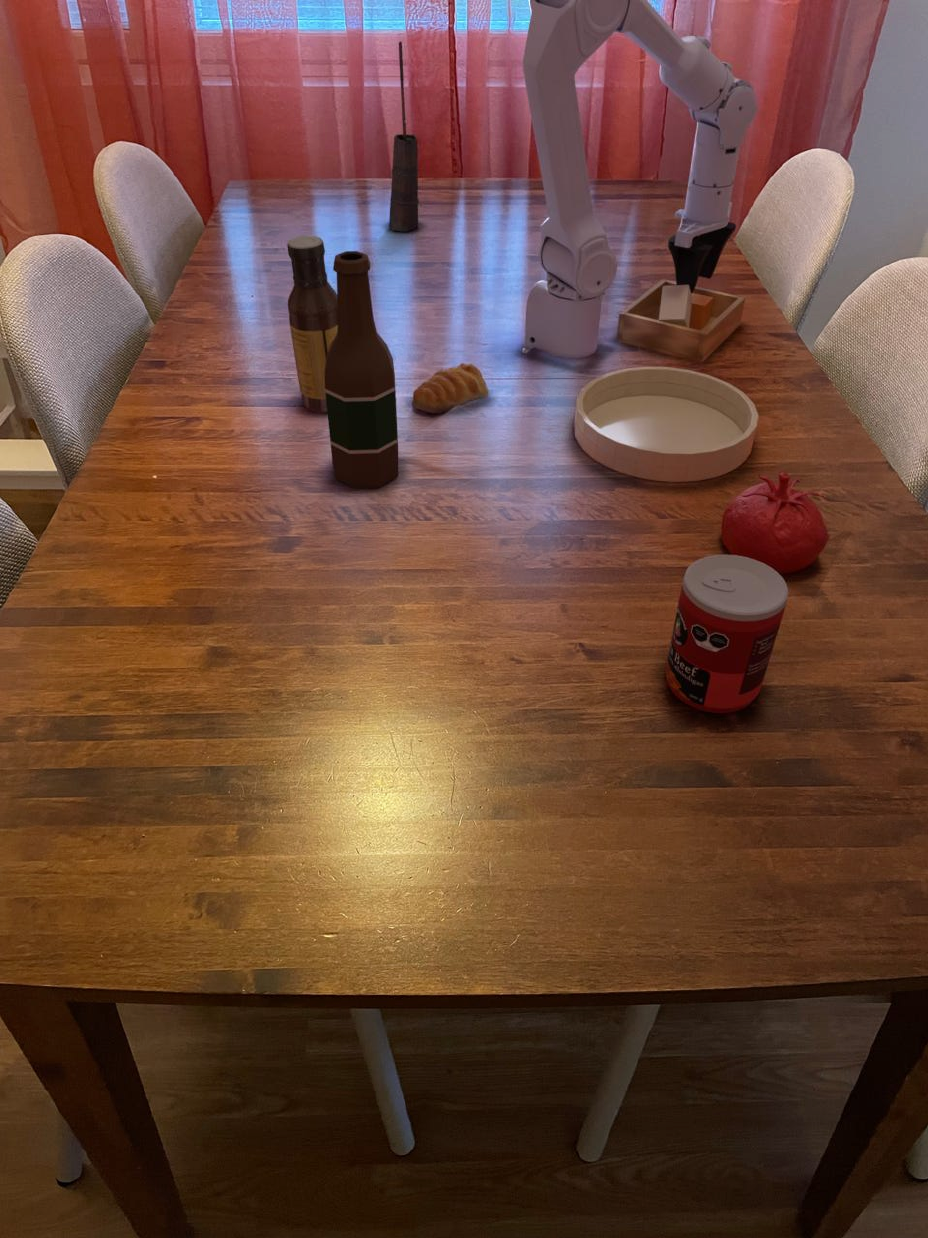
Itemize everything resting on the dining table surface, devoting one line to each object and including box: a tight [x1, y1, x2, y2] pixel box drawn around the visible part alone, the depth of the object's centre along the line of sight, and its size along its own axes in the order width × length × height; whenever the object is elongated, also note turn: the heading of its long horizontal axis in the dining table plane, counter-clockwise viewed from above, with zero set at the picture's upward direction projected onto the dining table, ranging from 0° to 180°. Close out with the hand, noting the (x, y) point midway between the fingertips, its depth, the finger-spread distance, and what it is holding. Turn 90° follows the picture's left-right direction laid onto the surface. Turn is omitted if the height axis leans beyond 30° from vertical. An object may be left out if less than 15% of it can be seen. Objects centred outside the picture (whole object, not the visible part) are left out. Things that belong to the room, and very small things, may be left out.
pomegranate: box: [720, 471, 830, 575], centre depth 91 cm, size 10×10×9 cm
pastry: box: [411, 362, 489, 415], centre depth 117 cm, size 9×7×4 cm
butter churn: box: [388, 40, 420, 233], centre depth 156 cm, size 9×10×28 cm
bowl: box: [573, 366, 760, 483], centre depth 110 cm, size 20×20×4 cm
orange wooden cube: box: [689, 293, 713, 330], centre depth 134 cm, size 4×5×4 cm
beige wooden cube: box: [659, 285, 692, 328], centre depth 128 cm, size 4×5×4 cm
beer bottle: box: [325, 250, 399, 489], centre depth 98 cm, size 8×8×24 cm
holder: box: [615, 278, 746, 364], centre depth 132 cm, size 13×15×4 cm
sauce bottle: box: [286, 235, 338, 414], centre depth 111 cm, size 6×6×20 cm
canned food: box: [665, 554, 789, 714], centre depth 77 cm, size 8×8×11 cm
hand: (694, 284), depth 132 cm, fingers open, 6 cm apart
